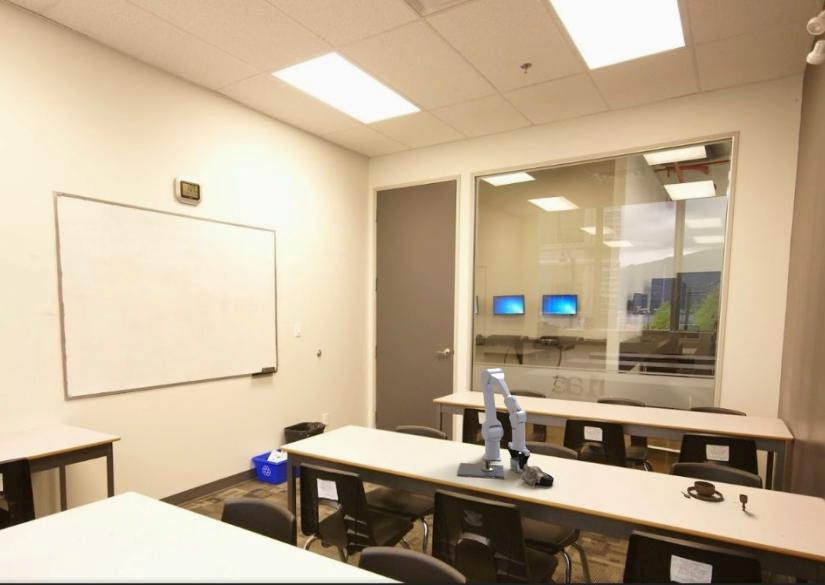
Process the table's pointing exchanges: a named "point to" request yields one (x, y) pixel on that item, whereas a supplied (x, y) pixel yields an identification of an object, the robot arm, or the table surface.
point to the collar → (515, 464)
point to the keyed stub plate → (481, 470)
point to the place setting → (711, 492)
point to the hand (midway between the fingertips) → (519, 467)
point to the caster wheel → (536, 476)
